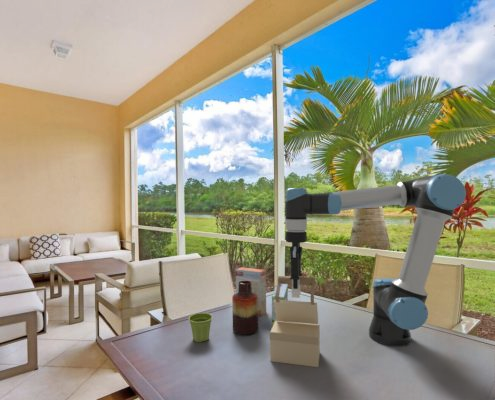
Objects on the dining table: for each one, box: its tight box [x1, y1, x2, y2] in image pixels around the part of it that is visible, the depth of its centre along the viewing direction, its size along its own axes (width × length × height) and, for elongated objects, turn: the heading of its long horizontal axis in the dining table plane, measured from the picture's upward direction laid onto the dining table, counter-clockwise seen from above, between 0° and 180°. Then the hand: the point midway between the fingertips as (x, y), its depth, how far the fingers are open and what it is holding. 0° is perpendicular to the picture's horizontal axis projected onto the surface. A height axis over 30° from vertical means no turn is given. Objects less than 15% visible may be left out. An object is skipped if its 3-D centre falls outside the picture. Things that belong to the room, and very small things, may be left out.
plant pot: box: [188, 312, 214, 343], centre depth 126 cm, size 9×9×9 cm
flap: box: [273, 275, 319, 325], centre depth 115 cm, size 15×14×9 cm
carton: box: [269, 321, 321, 368], centre depth 111 cm, size 16×10×10 cm, turn 75°
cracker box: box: [235, 266, 267, 317], centre depth 155 cm, size 14×6×21 cm, turn 58°
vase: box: [231, 281, 259, 337], centre depth 134 cm, size 11×11×20 cm
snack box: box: [271, 284, 289, 328], centre depth 141 cm, size 21×6×15 cm, turn 168°
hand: (296, 295), depth 115 cm, fingers closed on flap, 3 cm apart
